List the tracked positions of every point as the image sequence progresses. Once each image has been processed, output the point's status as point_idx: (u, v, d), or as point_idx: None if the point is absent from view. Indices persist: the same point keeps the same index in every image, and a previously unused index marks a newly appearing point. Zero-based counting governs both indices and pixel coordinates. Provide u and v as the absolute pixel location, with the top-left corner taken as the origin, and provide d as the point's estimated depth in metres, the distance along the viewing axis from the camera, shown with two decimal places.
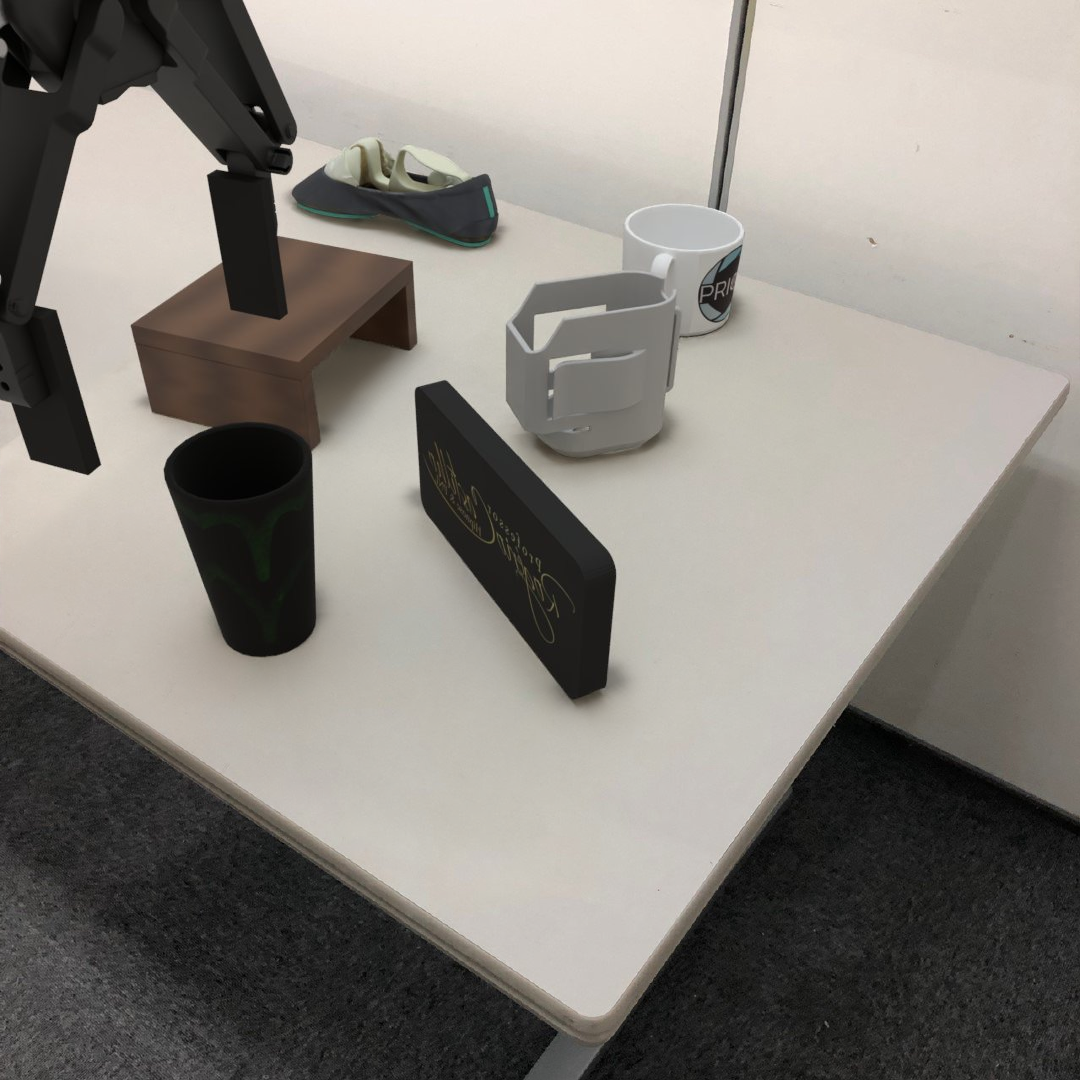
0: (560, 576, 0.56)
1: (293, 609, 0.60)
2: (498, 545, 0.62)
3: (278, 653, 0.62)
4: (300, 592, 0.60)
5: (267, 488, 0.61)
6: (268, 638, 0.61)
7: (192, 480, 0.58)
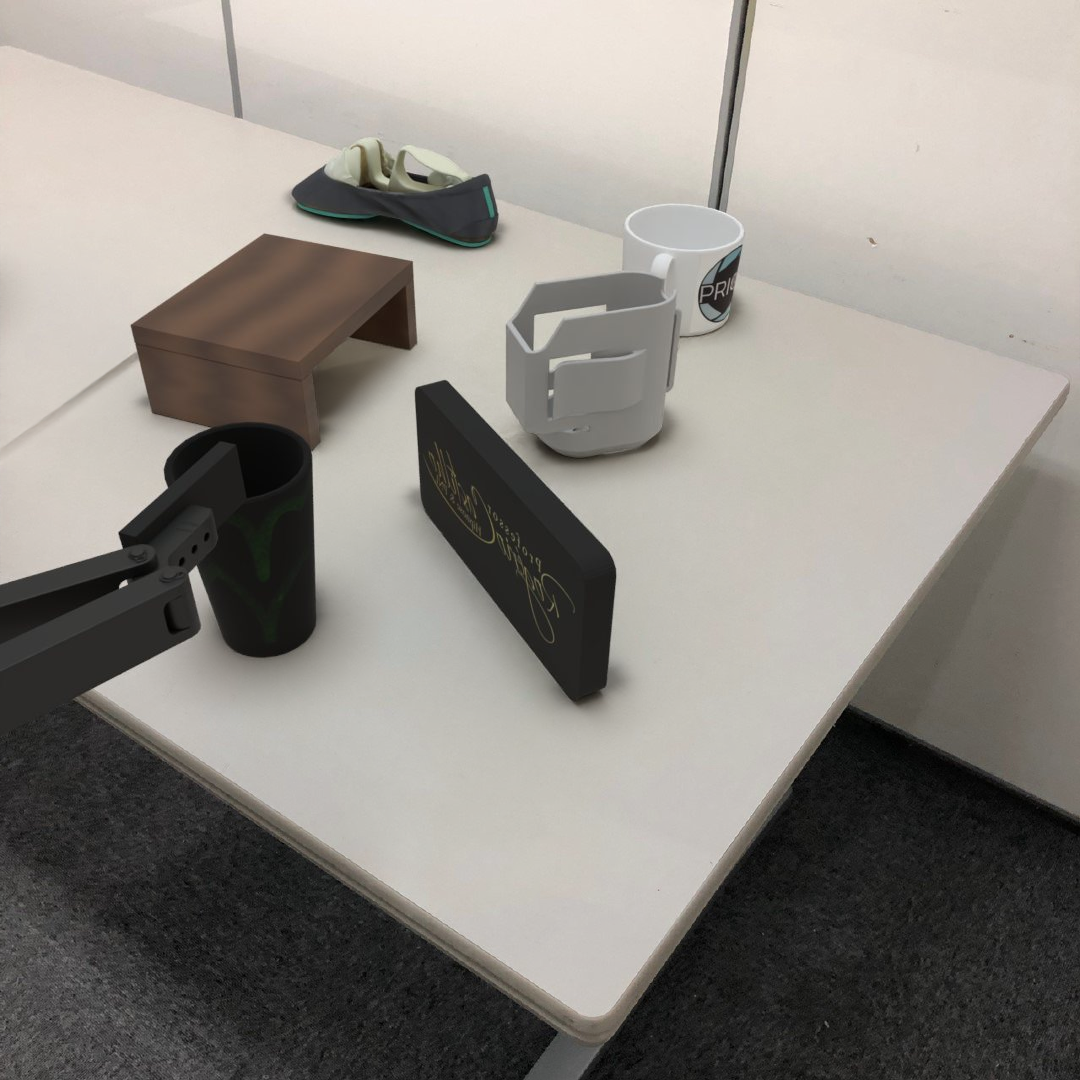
0: (560, 576, 0.56)
1: (293, 609, 0.60)
2: (499, 545, 0.62)
3: (278, 653, 0.62)
4: (300, 592, 0.60)
5: (267, 488, 0.61)
6: (268, 638, 0.61)
7: None
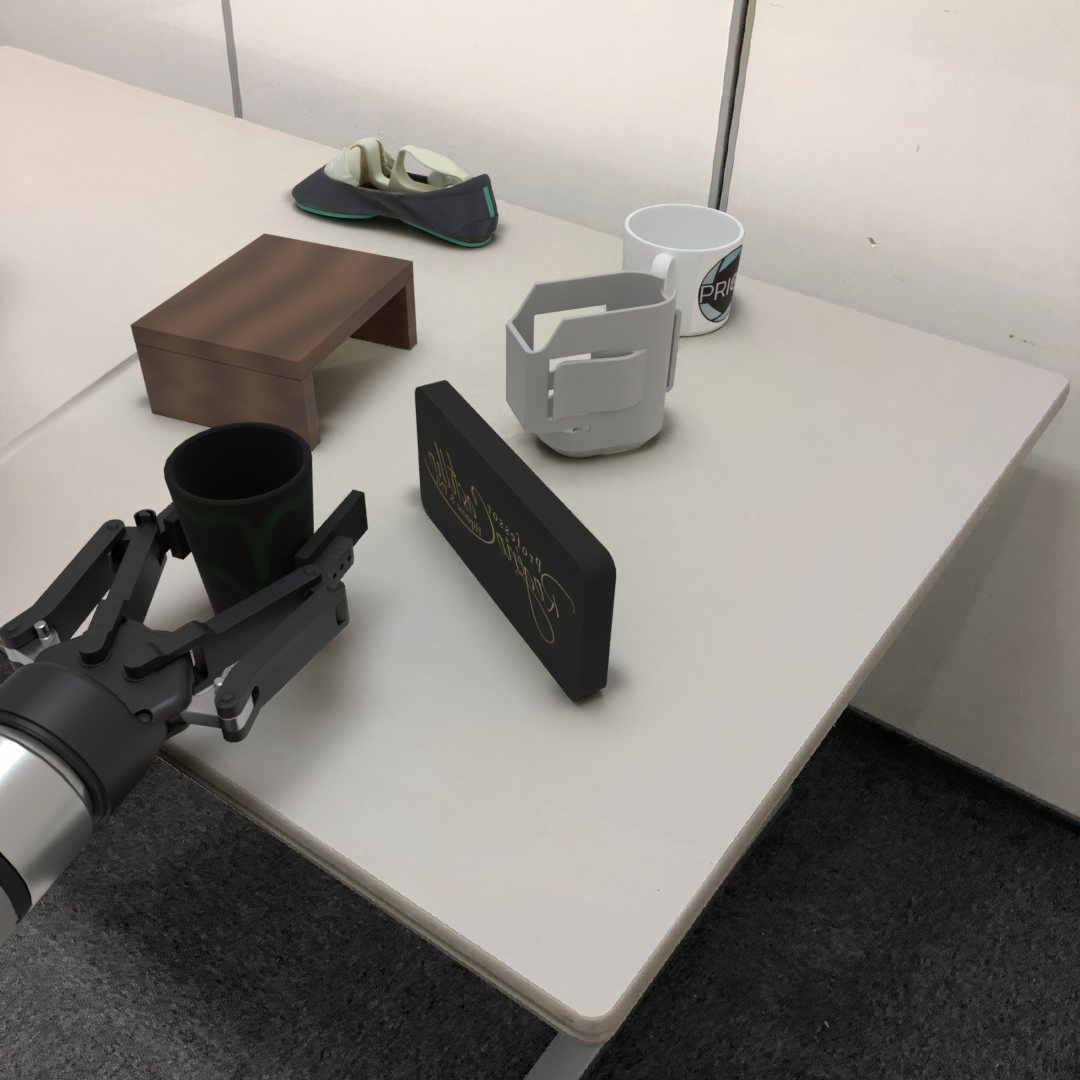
0: (560, 576, 0.56)
1: None
2: (498, 545, 0.62)
3: None
4: None
5: (267, 488, 0.61)
6: None
7: (192, 480, 0.58)
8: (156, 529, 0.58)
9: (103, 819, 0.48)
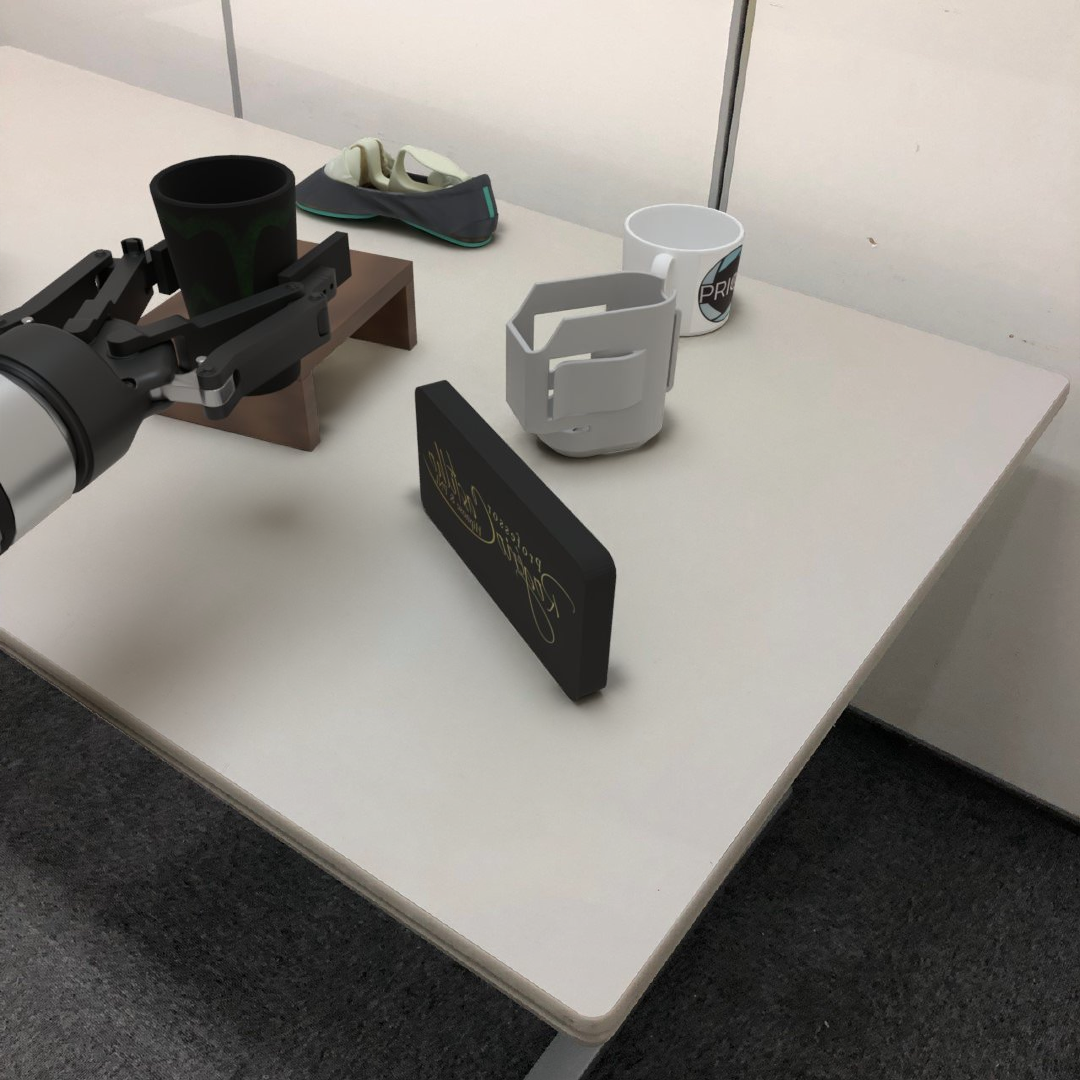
0: (560, 576, 0.56)
1: None
2: (499, 545, 0.62)
3: (263, 393, 0.63)
4: None
5: None
6: None
7: None
8: (143, 256, 0.60)
9: (87, 479, 0.49)
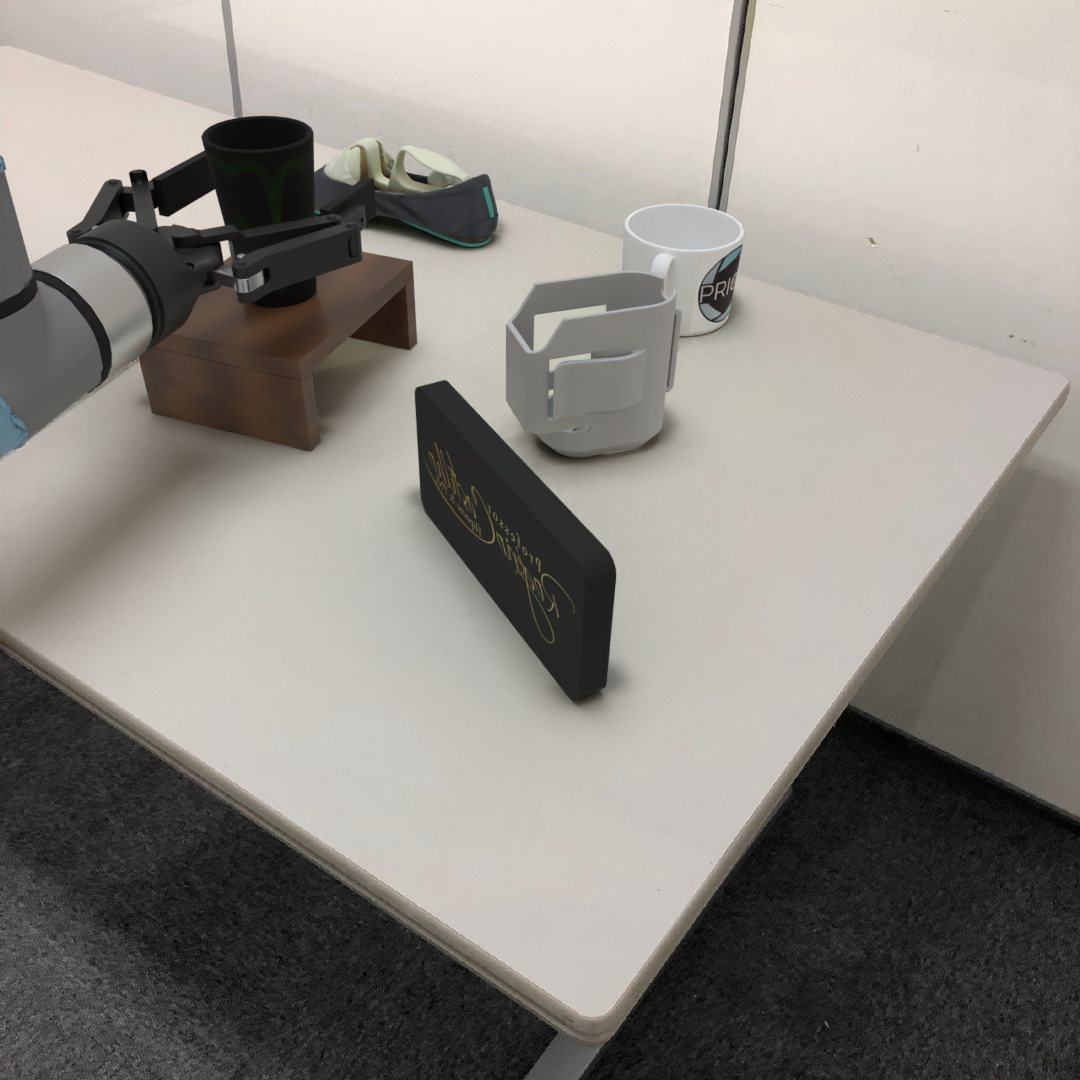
0: (560, 576, 0.56)
1: None
2: (498, 545, 0.62)
3: (287, 305, 0.80)
4: None
5: None
6: None
7: None
8: (148, 183, 0.75)
9: (158, 337, 0.65)
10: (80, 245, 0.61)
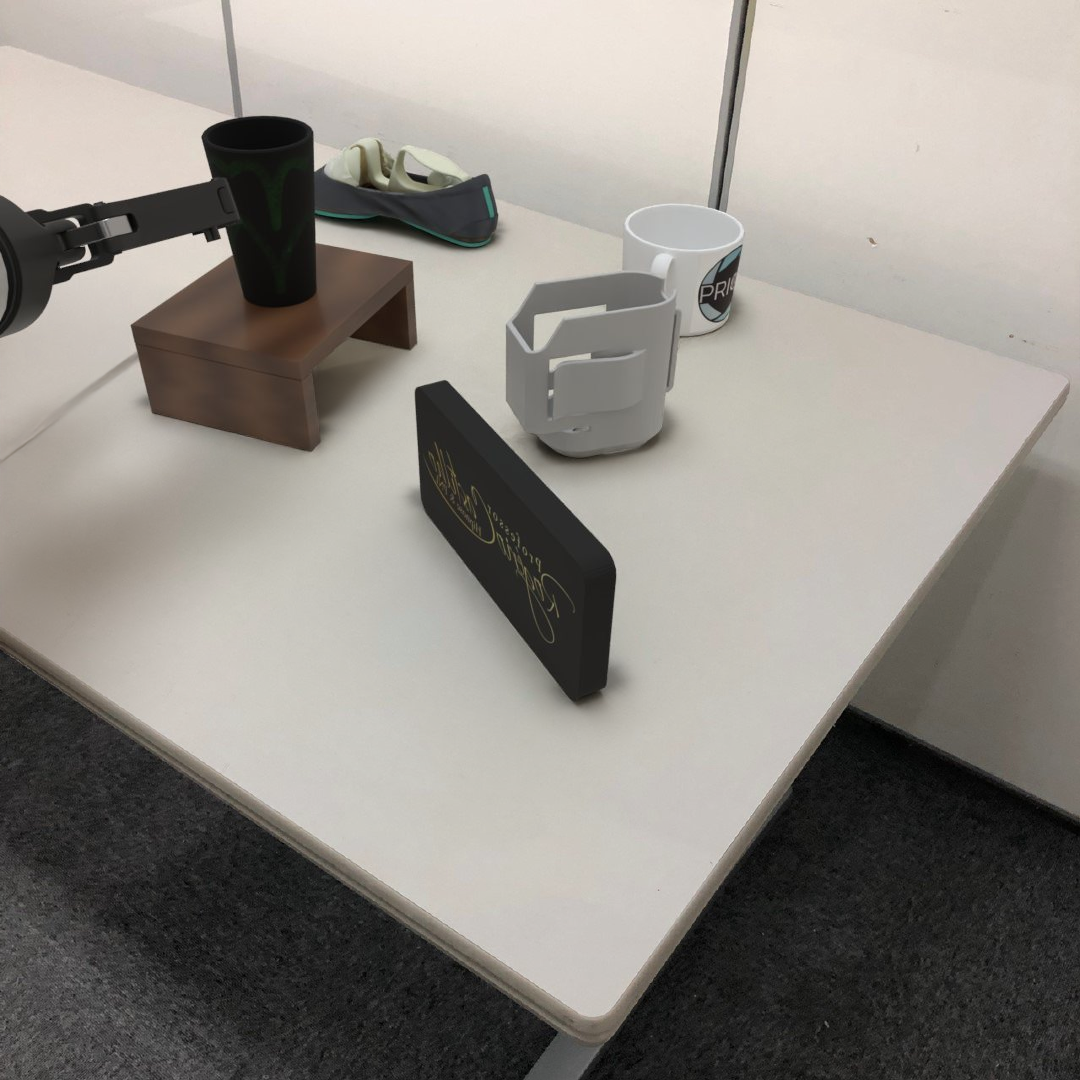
0: (560, 576, 0.56)
1: (298, 264, 0.78)
2: (498, 545, 0.62)
3: (287, 305, 0.80)
4: (304, 250, 0.78)
5: None
6: (279, 288, 0.79)
7: None
8: None
9: (18, 299, 0.52)
10: None
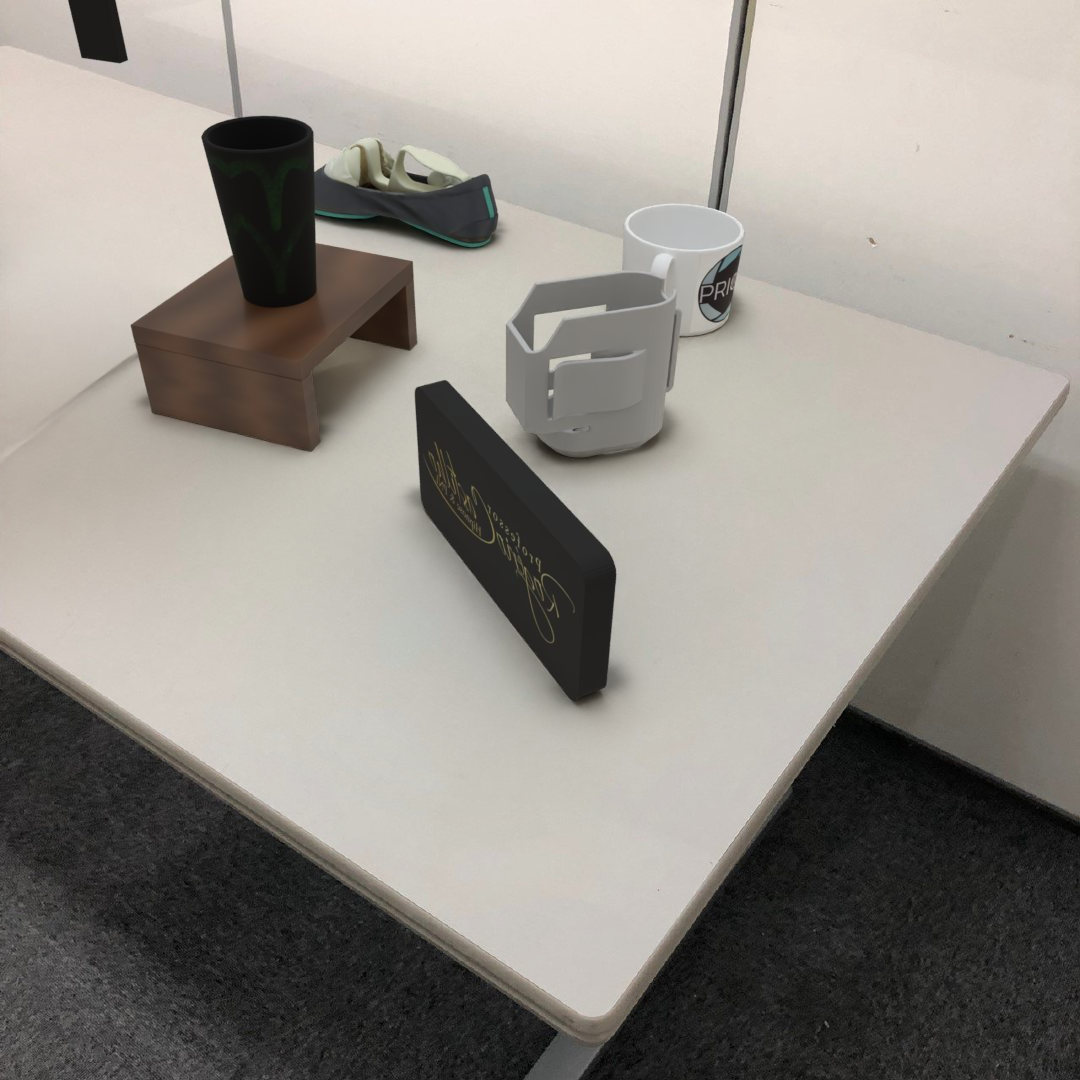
0: (560, 576, 0.56)
1: (298, 264, 0.78)
2: (498, 545, 0.62)
3: (287, 305, 0.80)
4: (304, 250, 0.78)
5: None
6: (279, 288, 0.79)
7: None
8: None
9: None
10: None
